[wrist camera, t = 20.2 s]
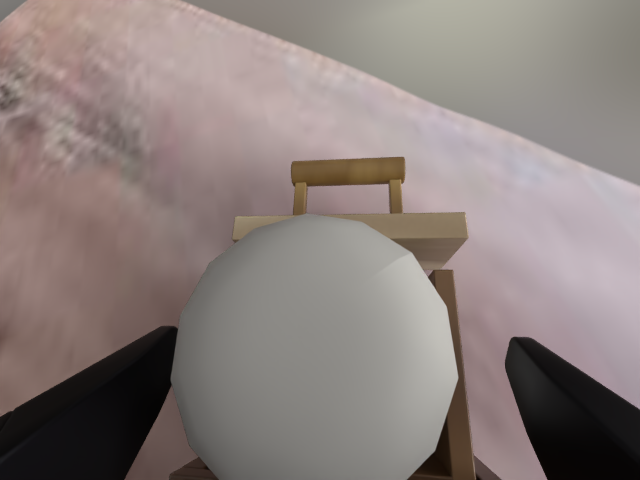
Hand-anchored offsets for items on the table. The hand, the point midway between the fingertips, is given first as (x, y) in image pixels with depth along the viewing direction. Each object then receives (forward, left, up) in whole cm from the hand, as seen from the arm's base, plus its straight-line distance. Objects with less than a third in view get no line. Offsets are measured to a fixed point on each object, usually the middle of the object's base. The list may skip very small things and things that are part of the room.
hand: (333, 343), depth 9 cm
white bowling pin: (0, 0, -8) cm, 8 cm away
